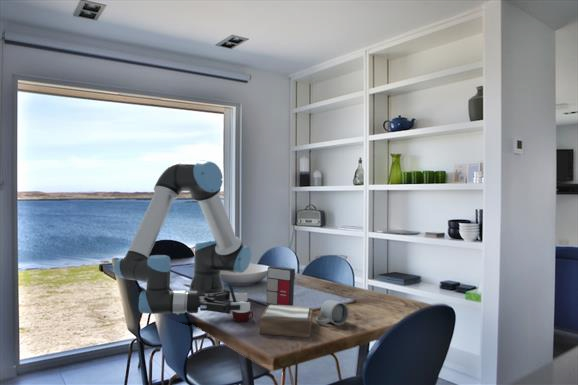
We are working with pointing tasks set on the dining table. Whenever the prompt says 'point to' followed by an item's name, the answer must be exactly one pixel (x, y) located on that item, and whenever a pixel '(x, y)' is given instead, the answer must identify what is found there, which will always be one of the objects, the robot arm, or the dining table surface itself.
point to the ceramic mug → (333, 312)
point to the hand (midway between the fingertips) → (248, 301)
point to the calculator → (280, 286)
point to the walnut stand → (286, 320)
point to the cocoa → (239, 315)
